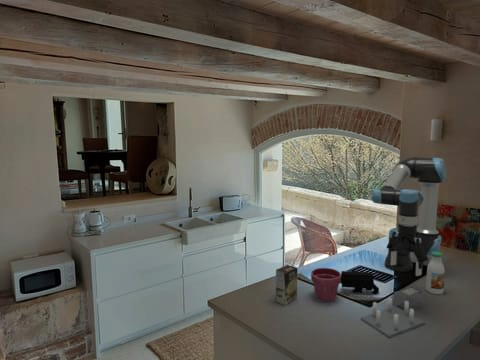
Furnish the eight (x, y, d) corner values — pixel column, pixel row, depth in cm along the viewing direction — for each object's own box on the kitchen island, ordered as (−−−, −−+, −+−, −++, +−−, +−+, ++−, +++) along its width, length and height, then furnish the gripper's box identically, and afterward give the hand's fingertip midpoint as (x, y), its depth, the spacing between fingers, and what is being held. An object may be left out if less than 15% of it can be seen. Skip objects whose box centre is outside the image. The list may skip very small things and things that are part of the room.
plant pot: (316, 288, 179) (316, 265, 177) (343, 294, 172) (344, 270, 170) (307, 300, 167) (307, 275, 165) (336, 307, 160) (336, 281, 158)
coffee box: (286, 305, 162) (285, 273, 160) (275, 301, 167) (275, 269, 165) (297, 299, 169) (297, 267, 167) (287, 294, 173) (287, 264, 171)
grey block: (411, 300, 165) (412, 286, 164) (422, 306, 159) (423, 291, 158) (393, 306, 160) (393, 291, 159) (404, 312, 154) (405, 297, 153)
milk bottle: (423, 291, 173) (425, 253, 170) (428, 286, 179) (430, 249, 176) (441, 296, 168) (443, 256, 165) (445, 290, 173) (447, 252, 171)
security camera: (379, 296, 169) (380, 277, 167) (340, 294, 173) (340, 275, 171) (377, 290, 176) (377, 271, 174) (339, 287, 179) (339, 269, 178)
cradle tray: (395, 307, 158) (395, 293, 157) (425, 324, 145) (426, 308, 144) (360, 319, 149) (361, 304, 148) (388, 337, 136) (389, 321, 135)
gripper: (379, 219, 165) (378, 261, 168) (426, 232, 142) (424, 281, 145) (391, 217, 168) (389, 259, 171) (439, 230, 145) (436, 278, 148)
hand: (405, 269), depth 158 cm, fingers open, 13 cm apart
